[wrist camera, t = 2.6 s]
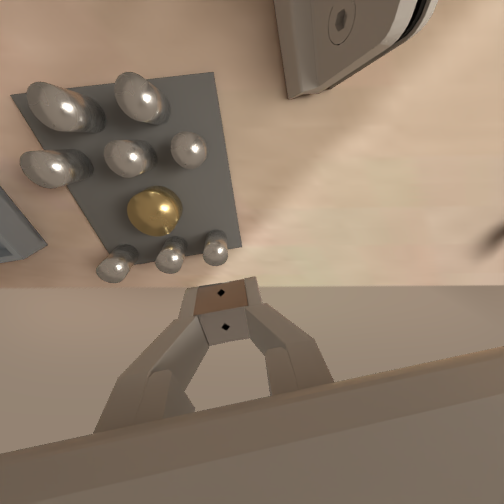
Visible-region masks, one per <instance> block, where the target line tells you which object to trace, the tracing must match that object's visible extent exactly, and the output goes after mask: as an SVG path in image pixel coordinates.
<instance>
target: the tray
mask: <svg viewBox="0 0 504 504" xmlns="http://www.w3.org/2000/svg"><path fill="white" fill-rule="evenodd" d="M45 246H47V243H46V242H45V241H44V240H43V238H42V237H41V236H40V235H39V233H38V232H37V231H36V230H35V229H34V227H33V226H32V225H31V224H30V222H29V221H28V220H27V219H26V217H25V216H24V215H23V214H22V212H21V211H20V210H19V209H18V208H17V206H16V205H15V204H14V203H13V201H12V200H11V199H10V198H9V196H8V195H7V194H6V193H5V192H4V190H3V189H2V188H1V187H0V263H3V262H10V261H16V260H22V259H25V258H27V257H29V256H30V255H32V254H33V253H35V252H37V251H38V250H40V249H42V248H43V247H45Z"/></svg>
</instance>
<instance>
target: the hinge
mask: <svg viewBox="0 0 504 504" xmlns="http://www.w3.org/2000/svg"><path fill="white" fill-rule="evenodd" d="M437 2H438V0H274V6H275V13H276V20H277V26H278V33H279V40H280V47H281V53H282V60H283V67H284V74H285V80H286V87H287V94H288V99H294V98H296V97H298V96H300V95H303V94H319V93H320V92H322V91H324V90H325V89H327V88H328V87H330V89H332V88H333V87H335V86H336V85H338V84H340V83H341V82H343V81H344V80H346V79H347V78H349V77H351V76H352V75H354V74H355V73H357V72H359V71H360V70H362V69H363V68H365V67H366V66H368V65H370V64H371V63H373V62H374V61H376V60H377V59H379V58H381V57H382V56H384V55H385V54H387V53H388V52H390V51H392V50H393V49H395V48H396V47H398V46H399V45H401V44H403V43H404V42H406V41H407V40H408V39H410V38H411V37H413V36H414V35H415V34H417V33H418V32H419V31H420V30H421V29H422V28H423V27H424V26H425V25H426V23H427V22H428V21H429V19H430V17H431V16H432V14H433V12H434V10H435V7H436V5H437Z"/></svg>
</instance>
